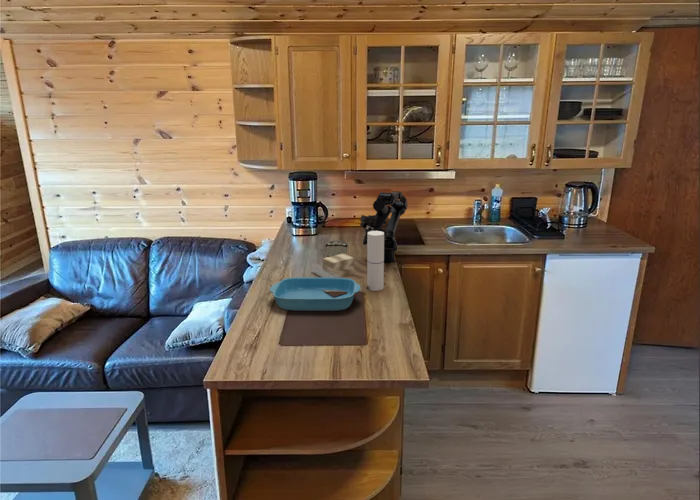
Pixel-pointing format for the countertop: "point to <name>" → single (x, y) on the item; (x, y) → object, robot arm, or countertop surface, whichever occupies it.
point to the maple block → (340, 264)
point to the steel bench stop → (323, 271)
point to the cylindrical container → (375, 260)
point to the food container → (336, 248)
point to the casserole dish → (314, 293)
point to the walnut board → (357, 270)
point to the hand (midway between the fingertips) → (363, 244)
